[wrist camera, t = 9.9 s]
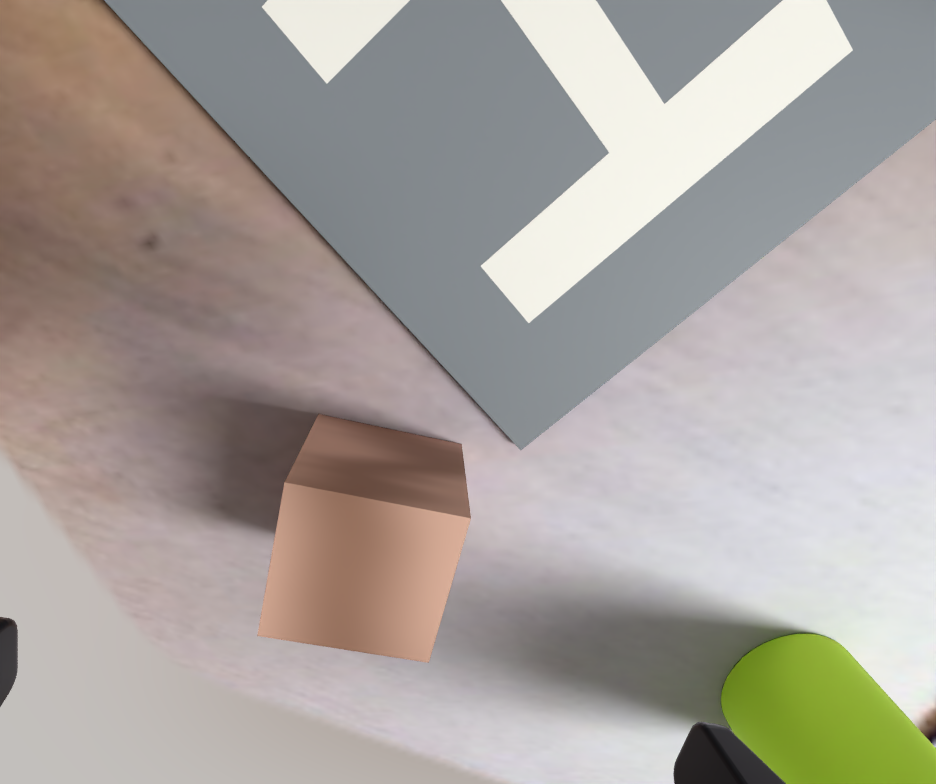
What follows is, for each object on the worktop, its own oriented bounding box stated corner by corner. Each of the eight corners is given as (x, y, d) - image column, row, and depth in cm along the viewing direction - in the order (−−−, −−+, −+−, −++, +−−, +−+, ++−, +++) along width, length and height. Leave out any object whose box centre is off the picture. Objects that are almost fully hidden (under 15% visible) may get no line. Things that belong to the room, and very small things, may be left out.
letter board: (981, 75, 18) (993, 73, 17) (519, 445, 21) (521, 450, 20) (641, -649, 12) (648, -676, 12) (93, -16, 16) (84, -21, 15)
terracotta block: (461, 443, 21) (470, 518, 16) (429, 561, 22) (428, 662, 17) (318, 412, 20) (284, 482, 15) (295, 537, 21) (257, 635, 17)
